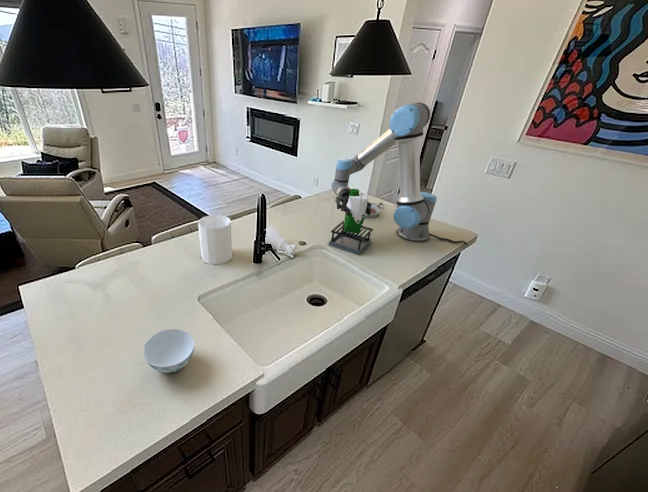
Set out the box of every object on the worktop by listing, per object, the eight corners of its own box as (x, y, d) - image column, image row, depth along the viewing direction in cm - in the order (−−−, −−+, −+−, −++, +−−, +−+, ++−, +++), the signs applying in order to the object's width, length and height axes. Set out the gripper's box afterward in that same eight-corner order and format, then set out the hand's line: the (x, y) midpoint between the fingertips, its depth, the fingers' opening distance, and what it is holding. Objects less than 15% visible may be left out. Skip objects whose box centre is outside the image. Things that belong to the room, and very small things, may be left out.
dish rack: (370, 242, 167) (373, 228, 163) (359, 255, 157) (362, 240, 153) (341, 233, 175) (343, 220, 171) (328, 245, 165) (330, 230, 161)
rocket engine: (301, 240, 149) (271, 221, 156) (286, 260, 148) (257, 240, 156) (305, 248, 160) (277, 230, 167) (291, 267, 159) (263, 248, 166)
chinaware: (141, 384, 96) (136, 366, 92) (154, 345, 108) (150, 328, 104) (192, 384, 96) (189, 366, 92) (199, 345, 109) (197, 328, 104)
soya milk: (343, 224, 166) (350, 186, 155) (362, 227, 164) (370, 188, 153) (341, 232, 160) (348, 192, 148) (360, 235, 157) (369, 195, 146)
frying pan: (394, 204, 203) (370, 216, 187) (393, 209, 205) (369, 221, 188) (370, 196, 213) (345, 207, 197) (369, 201, 215) (344, 211, 199)
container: (233, 262, 151) (232, 227, 141) (202, 265, 148) (199, 230, 138) (229, 247, 163) (228, 213, 153) (200, 249, 160) (197, 216, 150)
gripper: (364, 201, 173) (380, 219, 155) (323, 201, 172) (335, 220, 153) (367, 187, 169) (384, 205, 150) (325, 188, 168) (337, 205, 149)
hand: (359, 212), depth 152 cm, fingers closed on soya milk, 9 cm apart
